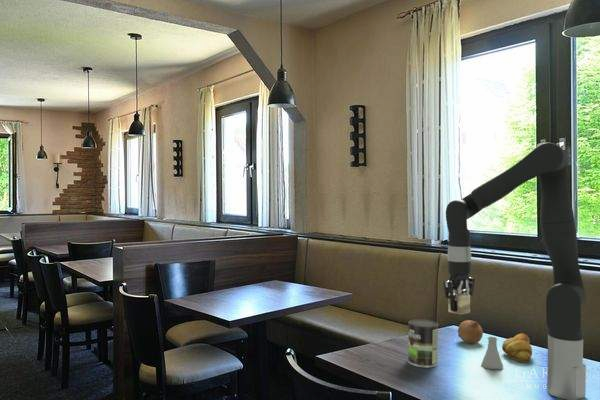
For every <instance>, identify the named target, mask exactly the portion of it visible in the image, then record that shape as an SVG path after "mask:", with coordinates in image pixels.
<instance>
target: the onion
mask: <svg viewBox="0 0 600 400" xmlns="http://www.w3.org/2000/svg"><path fill="white" fill-rule="evenodd" d="M483 334H484V331H483V328H482V327H481V325H480V324H479V323H478V322H477V321H475V320H470V319H469V320H468V319H467V320H464V321H462V322H461V323H460V324H459V325H458V328H457V336H458V338H460V340H462V341H463V343H465V344H471V345H472V344H473V345H474V344H478V343H479V342H480V341H481V340H482V338H483Z"/></svg>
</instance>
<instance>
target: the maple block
mask: <svg viewBox="0 0 600 400" xmlns="http://www.w3.org/2000/svg"><path fill="white" fill-rule="evenodd" d="M449 295H450V293H449ZM454 296H455V293H454ZM447 303H448V305H447V306H448V307H447V308H448V309H447V311H448V313H451V314H457V315H467V314H470V313H471V296H470V295H469V294H463V293H460V294H458V299H457V312H454V311H451V308H450V299H448V298H447Z"/></svg>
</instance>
